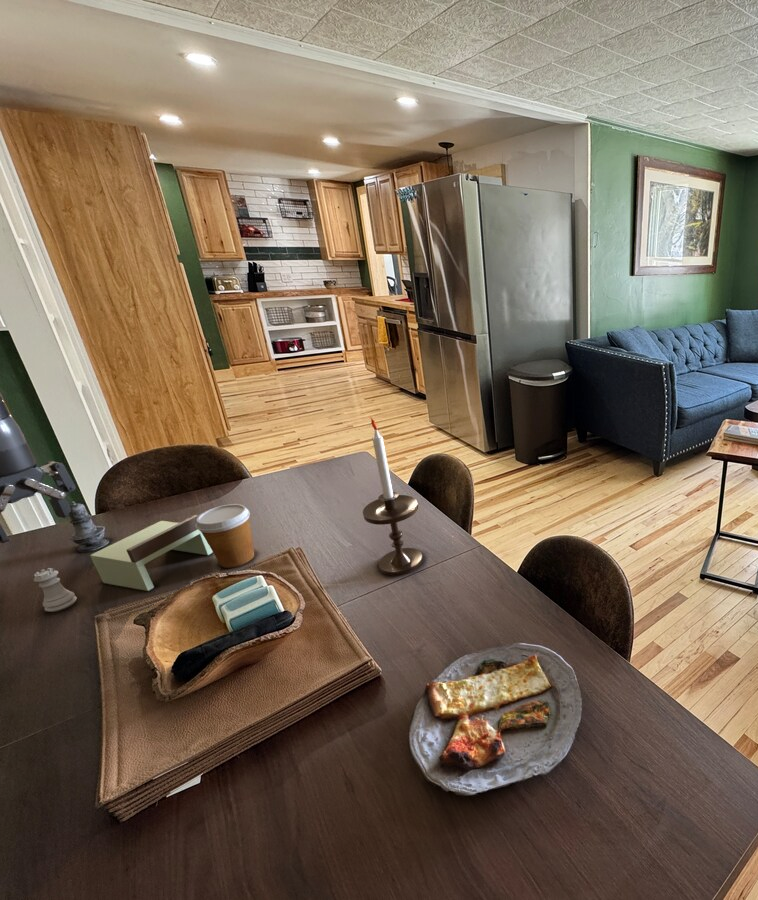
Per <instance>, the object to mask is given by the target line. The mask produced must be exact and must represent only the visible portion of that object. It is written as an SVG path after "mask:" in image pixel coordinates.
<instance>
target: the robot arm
mask: <svg viewBox="0 0 758 900" xmlns="http://www.w3.org/2000/svg"><path fill="white" fill-rule="evenodd" d="M6 403H7V402H6V401H5V399H4V397H3V395H2V394H1V392H0V514H2V513H3V512H4V511H5V510H6V507H7V505H8V504H14V503H17V502H20V501H21V500H22V499H26V498H27V499H28V498H32V497H34V496H35V494H39V495H42V496H45V497H48V498H49V499H48V501H49V503H50V505H51V508H52V510H53V512H54V514H55V516H56V517H58V518H61V519H66V518H68V517H70V515H69V513H70V512H71V508H70V507H69V506H70V504H69V502H68V500H67V498H66V497H67V495H68V494H70V492H71V493H72V492H75V491H76V489H77V486H76V484H75V483H74V481H73V479H72V477H71V476H70V474H69V472H68V470H67V468H66V466H65V465H64V463H62V462H57V461H46V462H45V464H44V465H41V466H40V467H39V466H38V465H37V460H36V458H35V457H34V454H33V453H32V450H31V448H30V446H29V444H28V442H27V441H26V436H25V434H24V432H22V429H21V428H20V425H19V424H18V423H17V422H16V420H15V419H14V417H13V415H12V414H11V411H10V410H9V407H8V406H7V404H6ZM45 474H46V475H47V476H50V477H51V479H52V480H53V481H54V484H55V485H56V487H57V488H55V487H52V486H49V485H47V484H45V483H42V481H43V479H44V476H45ZM9 541H10V538H9V537H8V534H7V533H6V531H5V529H4V527H3V525H2V523H0V544H4V543H7V542H9Z"/></svg>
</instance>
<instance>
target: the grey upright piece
mask: <svg viewBox="0 0 758 900" xmlns="http://www.w3.org/2000/svg"><path fill="white" fill-rule="evenodd" d="M70 504H71V505H70ZM70 504H69V507H70V508H71V512H70V513H69V515H70V516H69V518H70V520H69V521H68V522H69V524H72V525H73V528H74V532H73V533H72V534H71V535H70V536H69V540H71V541H72V542H73V543H75V544H76V545H79V547H78V548H77V552H79V553H88V552H92V551H93V552H94V551H97V550H99V549H101V548H103V547H105V546H107V545H108V544H109V543H110V540H109V539H107V538H104V537H105V531H106V528H105V526H102V525H95V524H94V522H93V520H92V517H93V516H92V514H89V512H88V510H87V508H86V506H85V505H84V504H82V503H76V502H75V501H72V500H71V502H70Z"/></svg>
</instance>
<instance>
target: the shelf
mask: <svg viewBox="0 0 758 900" xmlns="http://www.w3.org/2000/svg"><path fill="white" fill-rule="evenodd" d="M199 515H200V514H194V515H192V516H190V517H188V518H186V519H184V520H182V521H180V522H173V521H167V520H160V521H157V522H155V523H153V524H151V525H149V526H147V527H145V528H144V529H141V530H139V531H137V532H135V533H132V534H131V535H129V536H126V537H125V538H122V539H121V540H118V541H116V542H114V543H112V544H110V545H108V546H106V547H104V548H102V549H100V550H98V551H96V552H93V553H91V554H90V555H89V557H90V558H91V561H92V562H93V565H94V566H95V568H96V571H97V574H98V575H99V577H100V579H101V581H102V583H103V584H107V585H113V586H119V587H124V588H130V589H135V590H140V591H146V592H150V591H151V590H153V589H154V588H155V585H154V584H153V581H152V579H151V577H150V574H149V573H148V570H147V568H146V566H145V565H146V564H148V563H149V562H152V560H155V559H156V558H158V557H160V556H162V555H164V554H166V553H168V552H169V551H171V550H172V551H178V552H185V553H191V554H198V555H203V556H209V555H211V554H212V553H213V551H212V549H211V548H210V546H209V544H208V543H207V541H206V539H205V538H204V536H203V534H202V532H201V531H199V530H198V529H197V528H196V523H197V517H198V516H199ZM213 554H214V553H213Z"/></svg>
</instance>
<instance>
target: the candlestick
mask: <svg viewBox="0 0 758 900" xmlns="http://www.w3.org/2000/svg"><path fill="white" fill-rule="evenodd" d="M370 421H371V422H370V423H371V426H372V428H373V430H374V436H372V443H373V449H374V454H375V459H376V464H377V470H378V474H379V479H380V485H381V490H382V493H381V494H380V495H379V496H378V497H377V499H375V500H373V501H371V502H369V503H368V504H367V505H366V506H364V508H363V510H362V517H363V520H364V521H365V522H367V523H369V524H372V525H381V526H382V525H390V529H391V531H390V532H389V534H388V537H389V539H390V540H391V541H392V543H391V547H392V548H394V550H392V551H389V552H388V553H386V554H384V555H383V556H382V557H381V558H380V559H379V562H378V568H379V571H380V572H381V573H382V574H384V575H387V576H393V577H394V576H402V575H405V574H408V573H410V572H413V571H414V570H416V569H418V568H419V567H420V566H421V564H422V563H423V554H422V552H421V551H420V550H419V549H417V548H414V547H413V548H412V547H403V545H404V541H403V540H402V538H403V531H402V530H400V529H399V526H398V523H400V522H403V521H405V520H407V519H409V518H410V517H412V516H414V515H415V514H416V513H417V511H418V510H419V504H418V502H419V501H418V500H417V499H416V497H413V496H411V495H404V494H399V493H398V492H396V491H393V485H392V482H391V476H390V470H389V463H388V460H387V454H386V449H385V443H384V437H383V436H382V435H380V433H379V430H378V425H377V423H375V422H376V420H375V419H374V418H373V417H372V416H370Z"/></svg>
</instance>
